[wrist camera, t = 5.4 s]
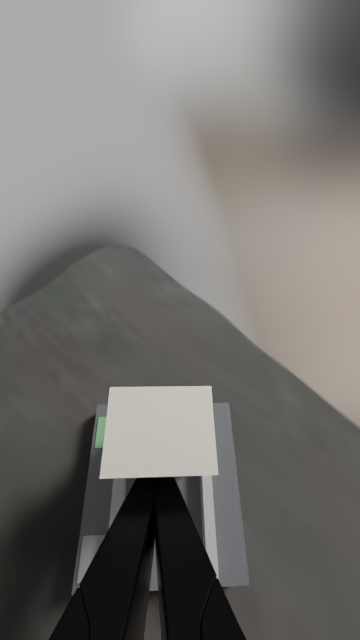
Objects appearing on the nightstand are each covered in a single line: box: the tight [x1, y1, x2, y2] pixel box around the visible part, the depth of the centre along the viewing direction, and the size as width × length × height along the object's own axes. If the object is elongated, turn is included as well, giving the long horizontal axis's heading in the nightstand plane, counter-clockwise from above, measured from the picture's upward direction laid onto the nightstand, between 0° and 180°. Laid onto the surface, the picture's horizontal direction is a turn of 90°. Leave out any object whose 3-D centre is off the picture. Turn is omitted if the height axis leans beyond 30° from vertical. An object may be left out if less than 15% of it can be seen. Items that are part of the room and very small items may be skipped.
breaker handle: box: [99, 386, 218, 479], centre depth 10 cm, size 3×3×7 cm
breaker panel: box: [71, 403, 250, 595], centre depth 13 cm, size 8×8×2 cm
